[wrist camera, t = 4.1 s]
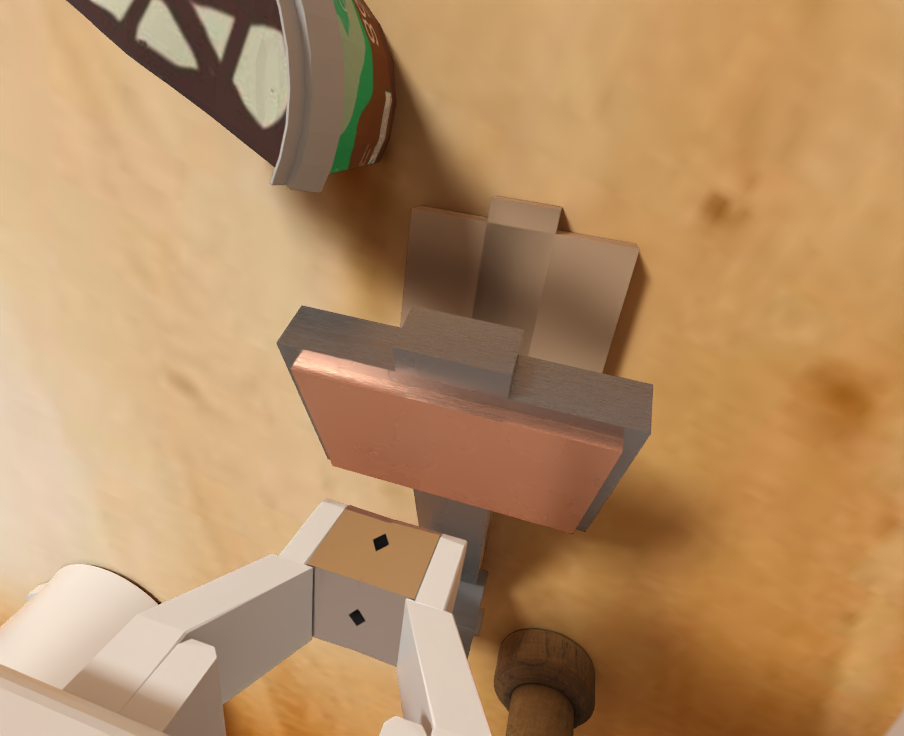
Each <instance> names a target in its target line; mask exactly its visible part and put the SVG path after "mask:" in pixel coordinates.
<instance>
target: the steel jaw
mask: <svg viewBox="0 0 904 736" xmlns="http://www.w3.org/2000/svg"><path fill="white" fill-rule="evenodd" d="M523 334H524V330H523V329H518V328H514V327H509V326H504V325H500V324H495V323H491V322H486V321H481V320H477V319H472V318H467V317H463V316H458V315H454V314H449V313H444V312H440V311H435V310H430V309H426V308H421V307H417V306H412V308H411V310H410V312H409V314H408V316H407V318H406V320H405V322H404V324H403V326H402V328H399V327H395V326H391V325H386V324H382V323H377V322H373V321H368V320H364V319H360V318H355V317H351V316H346V315H342V314H337V313H333V312H329V311H324V310H320V309H315V308H311V307H306V306H301V307H300V309H299V310H298V312H297V313H296V315H295V316H294V318H293V319H292V321H291V322H290V324H289V325H288V327H287V328H286V329H285V331H284V332H283V334H282V335H281V337H280V338H279V340H278V341H277V345H278V348H279V350H280V352H281V354H282V357H283V359H284V361H285V363H286V366H287V368H288V370H289V372H290V375H291V377H292V379H293V381H294V384H295V386H296V388H297V390H298V393H299V395H300V397H301V399H302V402H303V404H304V406H305V408H306V411H307V413H308V415H309V417H310V420H311V422H312V424H313V426H314V429H315V431H316V433H317V435H318V438H319V440H320V442H321V444H322V447H323V449H324V451H325V454H326V456H327V458H328V459H329V460H331V463H332V465H333V466H335V467H339V468H343V469H346V470H350V471H353V472H357V473H360V474H364V475H367V476H371V477H374V478H378V479H381V480H385V481H388V482H392V483H395V484H399V485H402V486H406V487H409V488H413V489H414V496H415V503H416V510H417V516H418V523H419V527H422V528H425V529H429V530H432V531H436V532H439V533H442V534H446V535H449V536H453V537H456V538H460V539H463V540H466V541H467V549H466V554H465V559H464V563H463V568H462V573H461V578H460V581H463V582H466V583H470V584H473V585H476V582H477V578H478V574H479V570H480V566H481V562H482V558H483V552H484V547H485V541H486V536H487V530H488V525H489V519H490V514H491V511H493V512H497V513H500V514H504V515H508V516H511V517H515V518H518V519H522V520H525V521H529V522H532V523H536V524H539V525H543V526H546V527H550V528H553V529H557V530H560V531H564V532H567V533H571V534H573V532H574V531H575V529H577V530H580V531H584V532H585V531H586V530H587V528H588V527H589V526H590V524H591V523H592V521H593V520H594V518H595V517H596V515H597V514H598V512H599V511H600V509H601V508H602V506H603V505H604V503H605V502H606V500H607V499H608V497H609V496H610V494H611V493H612V491H613V490H614V488H615V487H616V485H617V484H618V482H619V481H620V479H621V478H622V476H623V475H624V473H625V472H626V470H627V469H628V467H629V466H630V464H631V463H632V461H633V460H634V458H635V457H636V455H637V454H638V452H639V451H640V449H641V448H642V446H643V445H644V443H645V442H646V440H647V439H648V437H649V436H650V434H651V419H652V398H653V385H652V384H648V383H643V382H639V381H634V380H630V379H626V378H621V377H617V376H612V375H608V374H603V373H599V372H595V371H590V370H586V369H581V368H577V367H572V366H568V365H563V364H559V363H555V362H550V361H546V360H541V359H537V358H532V357H528V356H524V355H520V350H521V345H522V339H523Z"/></svg>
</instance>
